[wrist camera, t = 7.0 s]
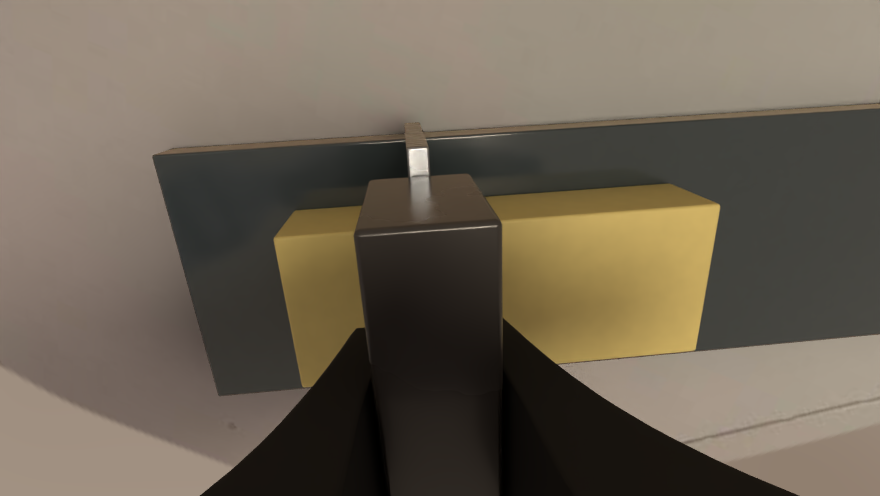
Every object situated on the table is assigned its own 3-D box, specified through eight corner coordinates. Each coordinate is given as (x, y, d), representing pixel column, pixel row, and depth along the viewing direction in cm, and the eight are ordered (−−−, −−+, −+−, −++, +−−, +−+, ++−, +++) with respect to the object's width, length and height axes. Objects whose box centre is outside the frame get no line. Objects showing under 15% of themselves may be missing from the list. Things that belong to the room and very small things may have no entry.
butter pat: (316, 341, 15) (301, 389, 13) (293, 209, 13) (272, 237, 11) (409, 333, 15) (411, 378, 13) (398, 202, 13) (397, 228, 11)
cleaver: (404, 412, 15) (407, 668, 8) (376, 125, 12) (346, 189, 5) (460, 407, 15) (504, 656, 9) (447, 120, 12) (504, 178, 5)
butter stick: (446, 329, 15) (454, 374, 13) (439, 199, 13) (446, 224, 11) (653, 311, 15) (696, 351, 13) (670, 182, 14) (722, 203, 12)
